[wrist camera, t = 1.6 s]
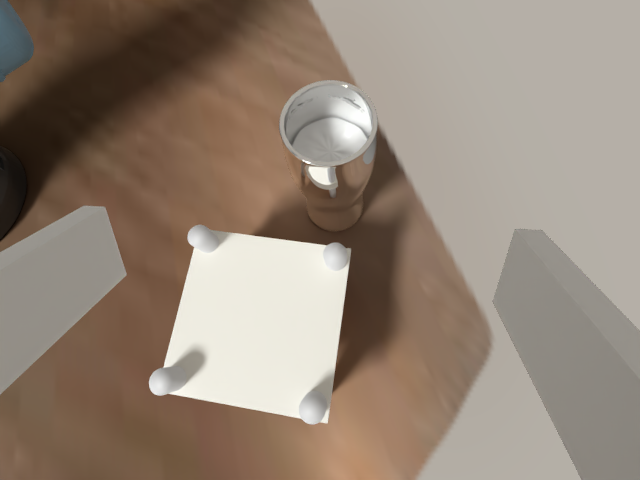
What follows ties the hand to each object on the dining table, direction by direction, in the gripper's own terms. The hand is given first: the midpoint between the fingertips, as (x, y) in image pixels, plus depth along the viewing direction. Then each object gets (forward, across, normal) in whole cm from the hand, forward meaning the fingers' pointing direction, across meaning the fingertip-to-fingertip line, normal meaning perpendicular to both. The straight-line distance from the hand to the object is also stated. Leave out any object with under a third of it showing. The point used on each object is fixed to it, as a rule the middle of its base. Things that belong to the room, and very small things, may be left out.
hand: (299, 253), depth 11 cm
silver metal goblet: (+25, 0, -9) cm, 26 cm away
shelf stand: (+16, -5, -18) cm, 24 cm away
